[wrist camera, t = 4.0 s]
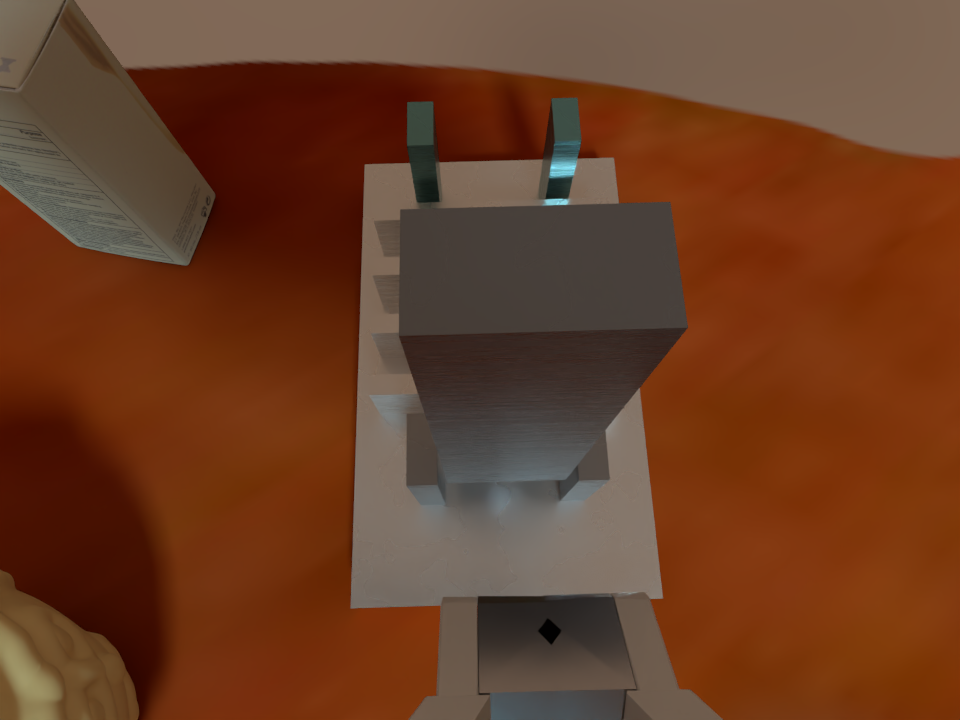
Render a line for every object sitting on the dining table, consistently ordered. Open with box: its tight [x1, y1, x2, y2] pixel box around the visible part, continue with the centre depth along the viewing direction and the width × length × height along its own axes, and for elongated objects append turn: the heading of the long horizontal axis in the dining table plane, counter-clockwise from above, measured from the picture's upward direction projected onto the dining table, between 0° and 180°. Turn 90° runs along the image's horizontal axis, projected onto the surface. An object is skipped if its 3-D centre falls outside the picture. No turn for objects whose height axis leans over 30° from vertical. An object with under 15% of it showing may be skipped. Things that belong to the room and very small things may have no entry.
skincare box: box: [0, 0, 215, 265], centre depth 27 cm, size 6×4×12 cm
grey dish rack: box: [351, 98, 663, 608], centre depth 27 cm, size 20×12×8 cm, turn 2°
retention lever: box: [399, 202, 688, 483], centre depth 17 cm, size 2×4×15 cm, turn 91°
